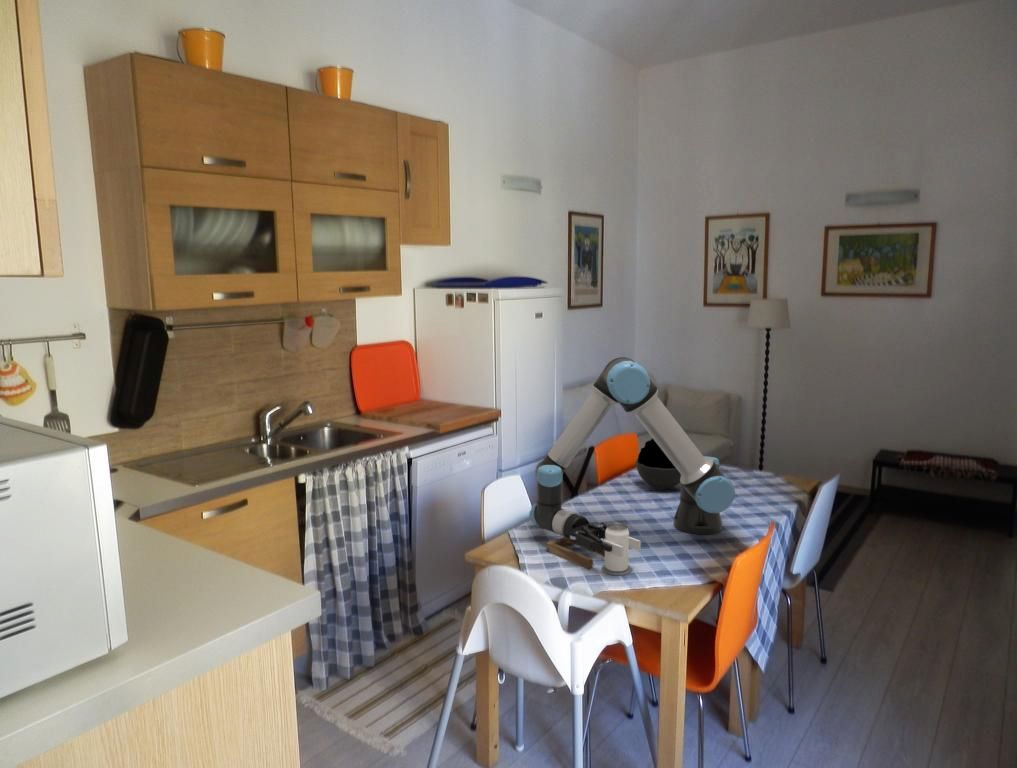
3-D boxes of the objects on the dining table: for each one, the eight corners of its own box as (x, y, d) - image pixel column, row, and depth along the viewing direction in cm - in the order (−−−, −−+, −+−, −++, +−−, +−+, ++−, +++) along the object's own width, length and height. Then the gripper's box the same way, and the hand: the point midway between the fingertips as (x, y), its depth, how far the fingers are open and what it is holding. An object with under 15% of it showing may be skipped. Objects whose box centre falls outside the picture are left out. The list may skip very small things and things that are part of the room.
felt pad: (615, 561, 206) (615, 560, 206) (637, 570, 200) (637, 569, 200) (595, 568, 201) (595, 567, 201) (617, 578, 195) (617, 576, 195)
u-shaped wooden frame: (574, 541, 222) (574, 533, 221) (617, 559, 208) (617, 550, 208) (546, 550, 215) (546, 542, 214) (588, 569, 201) (588, 560, 201)
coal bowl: (669, 478, 290) (670, 432, 287) (699, 492, 272) (701, 443, 269) (625, 483, 283) (626, 436, 280) (653, 498, 264) (655, 447, 262)
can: (625, 562, 204) (626, 522, 202) (630, 572, 198) (631, 530, 196) (602, 563, 204) (603, 522, 202) (606, 572, 197) (607, 530, 196)
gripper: (594, 530, 220) (653, 553, 202) (546, 545, 208) (606, 571, 190) (594, 507, 219) (654, 527, 201) (547, 520, 207) (606, 543, 189)
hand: (630, 548), depth 196 cm, fingers closed on can, 6 cm apart
